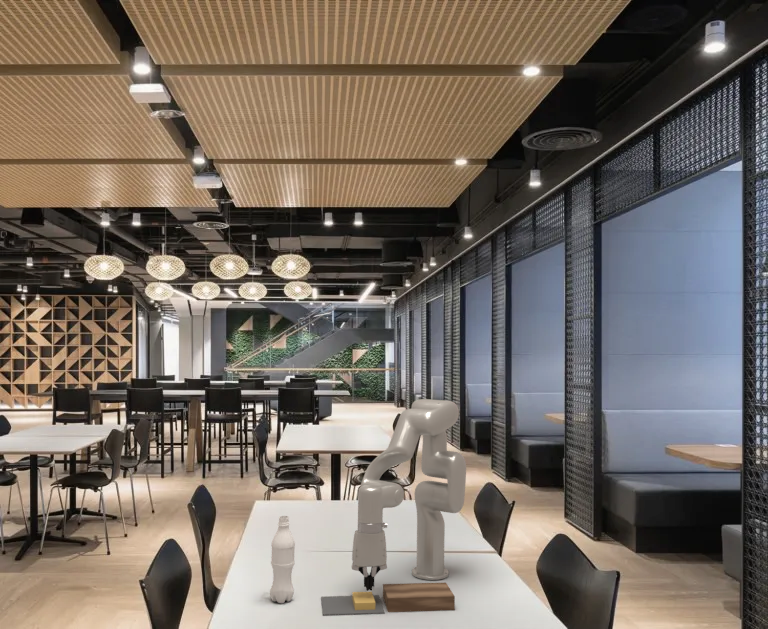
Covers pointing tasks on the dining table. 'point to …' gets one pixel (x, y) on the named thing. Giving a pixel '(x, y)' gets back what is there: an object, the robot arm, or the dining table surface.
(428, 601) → the brown wooden block
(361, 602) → the yellow rectangular block
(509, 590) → the dining table surface
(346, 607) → the mat
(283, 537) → the water bottle
